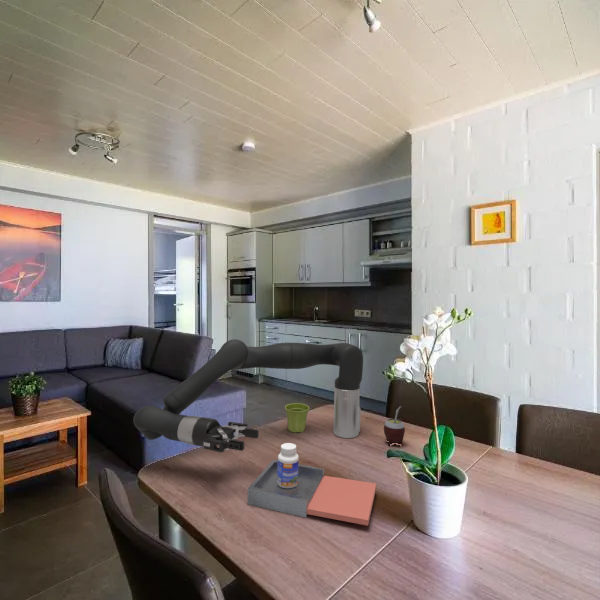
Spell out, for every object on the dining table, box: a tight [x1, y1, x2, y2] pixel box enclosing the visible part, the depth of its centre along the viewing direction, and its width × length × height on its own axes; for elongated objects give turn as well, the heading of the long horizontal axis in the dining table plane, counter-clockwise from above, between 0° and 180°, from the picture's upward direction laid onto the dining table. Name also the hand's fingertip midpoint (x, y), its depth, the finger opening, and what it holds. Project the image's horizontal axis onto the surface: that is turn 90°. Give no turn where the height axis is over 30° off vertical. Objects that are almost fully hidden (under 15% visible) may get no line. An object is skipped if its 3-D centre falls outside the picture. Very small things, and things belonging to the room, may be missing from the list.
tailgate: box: [307, 475, 377, 526], centre depth 88 cm, size 2×16×14 cm
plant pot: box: [284, 402, 311, 434], centre depth 135 cm, size 9×9×9 cm
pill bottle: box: [277, 442, 300, 488], centre depth 92 cm, size 5×5×10 cm
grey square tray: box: [247, 459, 325, 519], centre depth 92 cm, size 15×16×4 cm
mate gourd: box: [383, 405, 406, 445], centre depth 124 cm, size 8×8×15 cm
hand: (251, 439), depth 95 cm, fingers open, 8 cm apart
